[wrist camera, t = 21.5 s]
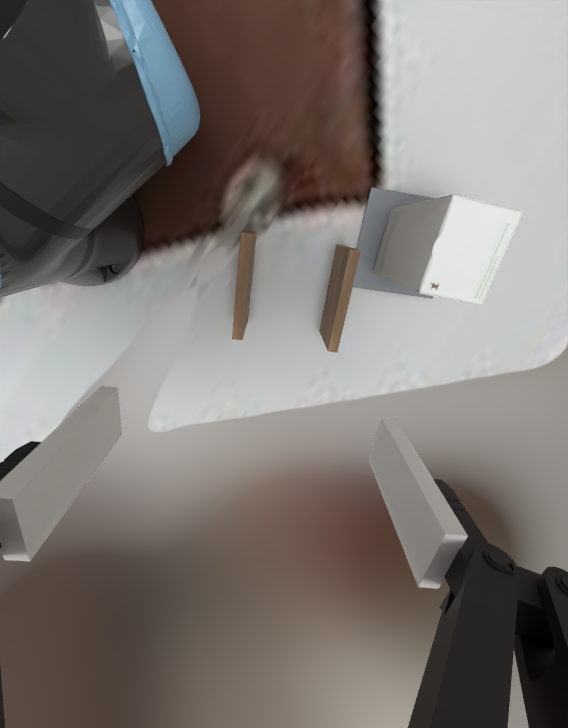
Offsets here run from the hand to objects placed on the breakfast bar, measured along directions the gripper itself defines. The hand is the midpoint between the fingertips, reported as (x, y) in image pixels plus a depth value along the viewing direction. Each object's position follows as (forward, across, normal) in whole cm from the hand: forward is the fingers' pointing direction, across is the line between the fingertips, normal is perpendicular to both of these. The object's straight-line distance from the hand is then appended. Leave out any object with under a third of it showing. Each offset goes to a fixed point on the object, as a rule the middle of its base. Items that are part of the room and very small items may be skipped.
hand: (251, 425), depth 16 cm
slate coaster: (+31, +17, +9) cm, 36 cm away
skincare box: (+30, +17, +9) cm, 36 cm away
